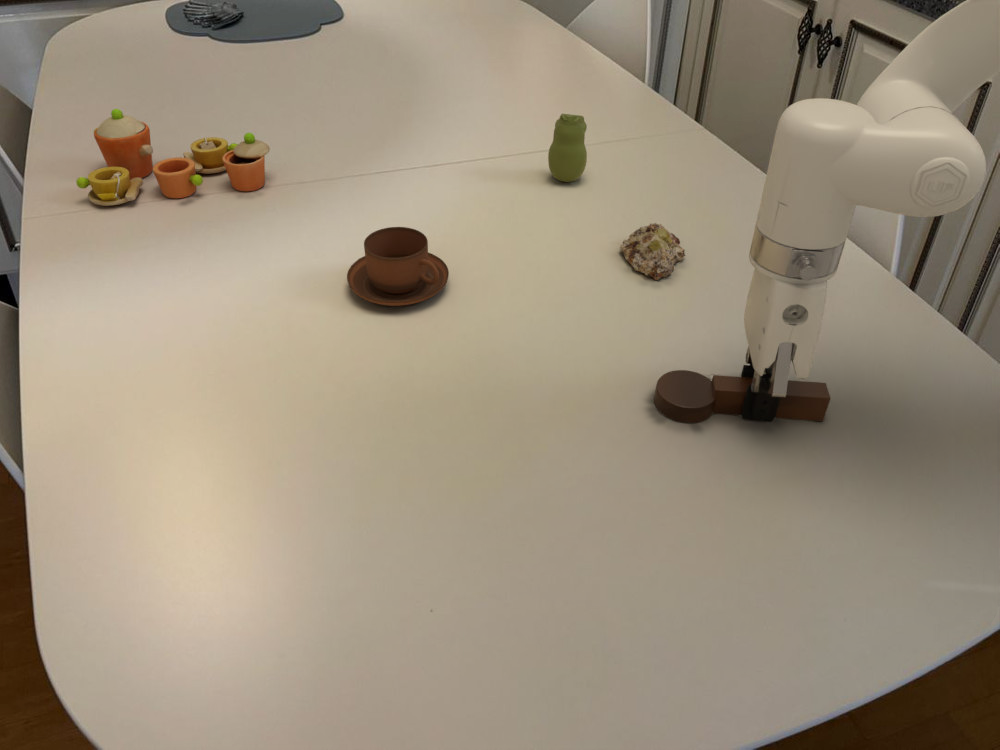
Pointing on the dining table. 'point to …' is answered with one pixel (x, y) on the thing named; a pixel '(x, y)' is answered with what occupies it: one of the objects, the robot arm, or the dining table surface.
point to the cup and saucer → (397, 268)
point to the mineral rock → (653, 250)
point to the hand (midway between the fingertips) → (754, 407)
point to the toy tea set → (167, 163)
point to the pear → (568, 148)
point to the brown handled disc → (731, 397)
